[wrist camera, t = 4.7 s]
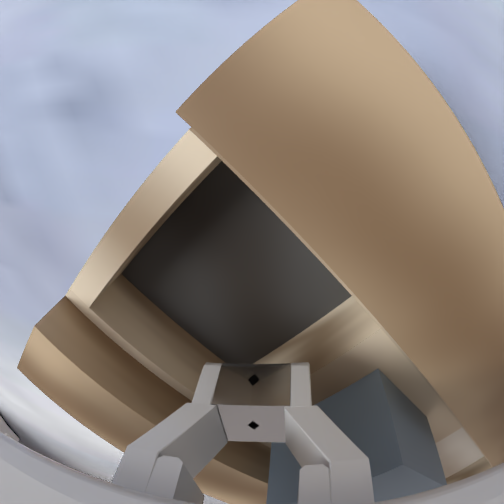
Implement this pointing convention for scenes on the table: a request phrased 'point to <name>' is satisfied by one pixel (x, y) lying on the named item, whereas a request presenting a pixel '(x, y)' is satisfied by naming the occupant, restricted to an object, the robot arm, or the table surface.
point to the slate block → (371, 442)
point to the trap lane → (296, 252)
